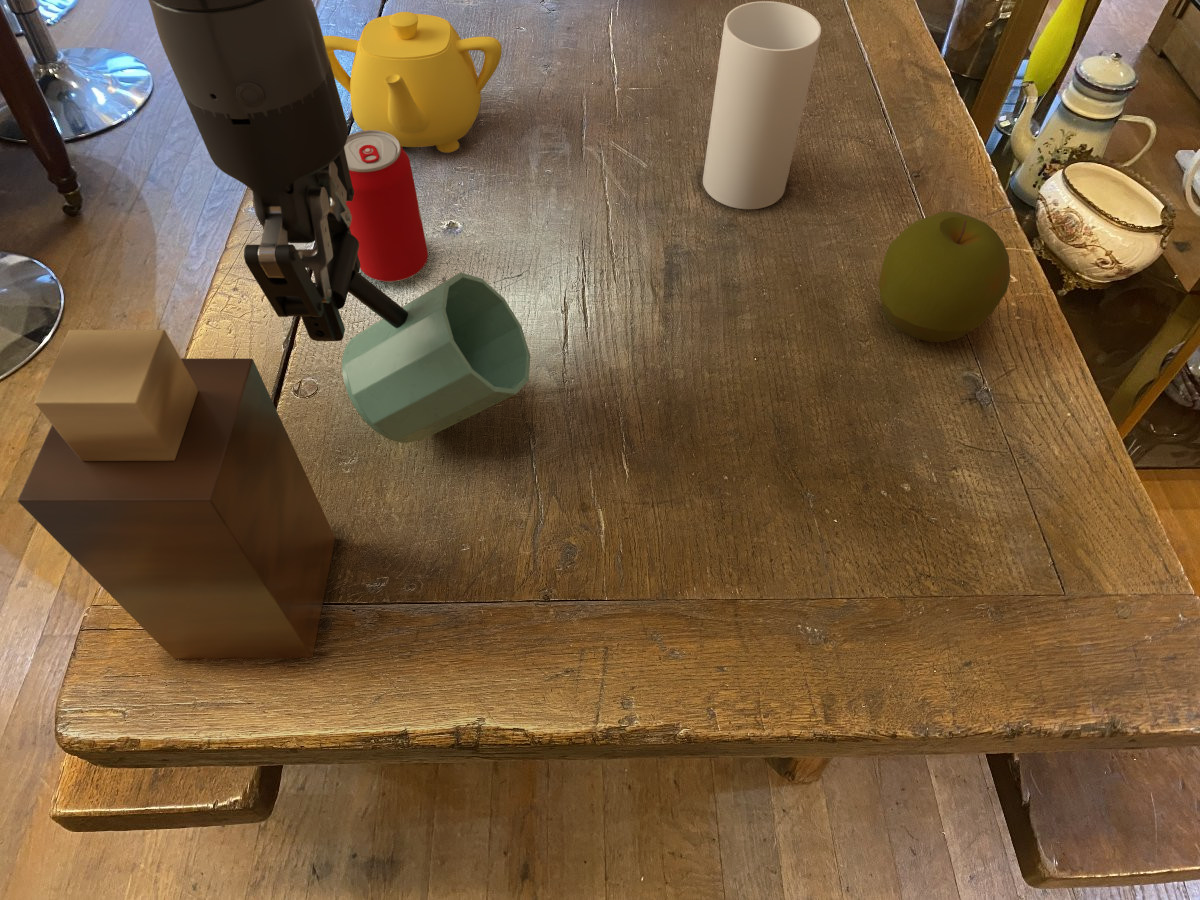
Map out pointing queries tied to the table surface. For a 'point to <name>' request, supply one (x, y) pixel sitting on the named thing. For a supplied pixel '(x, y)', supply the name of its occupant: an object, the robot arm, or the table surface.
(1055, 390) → the table surface
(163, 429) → the block
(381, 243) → the beverage can
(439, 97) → the teapot
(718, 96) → the cup
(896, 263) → the apple
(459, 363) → the mug
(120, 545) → the block
